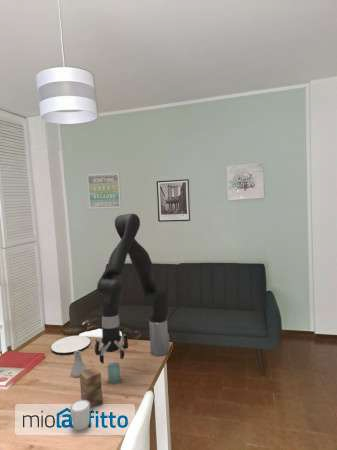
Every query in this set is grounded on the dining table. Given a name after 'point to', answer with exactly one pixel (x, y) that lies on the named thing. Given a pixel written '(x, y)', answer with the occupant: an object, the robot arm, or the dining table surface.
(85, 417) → the grey cup
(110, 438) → the dining table surface
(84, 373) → the tower top
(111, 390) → the dining table surface
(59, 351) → the plate
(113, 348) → the sushi
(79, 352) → the flask
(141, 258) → the robot arm
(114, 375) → the cylinder
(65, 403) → the dining table surface
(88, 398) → the tower base
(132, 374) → the dining table surface
